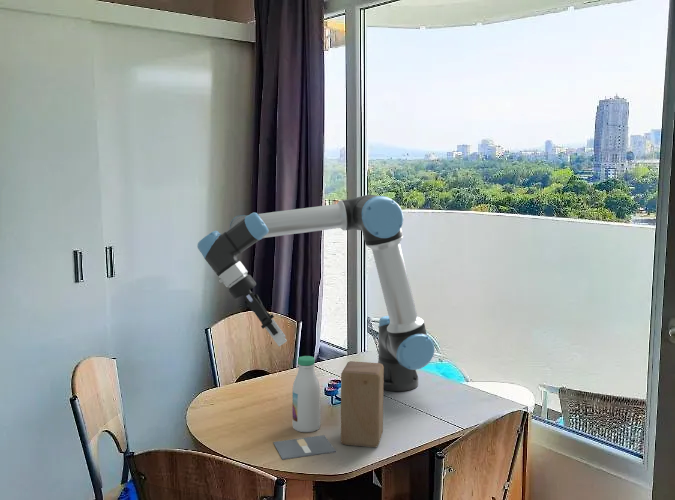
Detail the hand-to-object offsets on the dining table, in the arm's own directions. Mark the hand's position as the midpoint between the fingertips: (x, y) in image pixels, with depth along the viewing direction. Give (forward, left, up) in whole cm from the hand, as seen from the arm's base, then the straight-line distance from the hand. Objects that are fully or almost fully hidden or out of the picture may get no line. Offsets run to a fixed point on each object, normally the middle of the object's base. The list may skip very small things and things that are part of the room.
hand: (282, 341), depth 180 cm
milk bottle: (-5, +9, -23) cm, 25 cm away
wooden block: (-17, +21, -23) cm, 35 cm away
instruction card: (-1, +21, -23) cm, 31 cm away
